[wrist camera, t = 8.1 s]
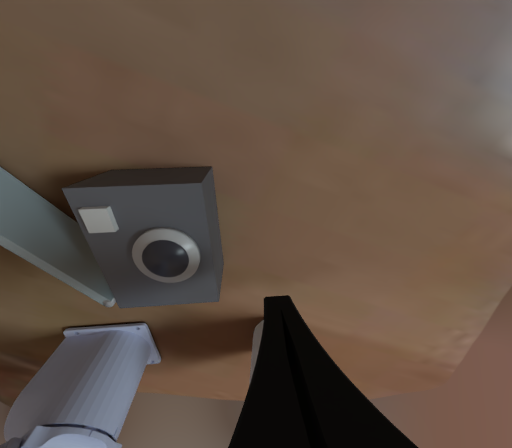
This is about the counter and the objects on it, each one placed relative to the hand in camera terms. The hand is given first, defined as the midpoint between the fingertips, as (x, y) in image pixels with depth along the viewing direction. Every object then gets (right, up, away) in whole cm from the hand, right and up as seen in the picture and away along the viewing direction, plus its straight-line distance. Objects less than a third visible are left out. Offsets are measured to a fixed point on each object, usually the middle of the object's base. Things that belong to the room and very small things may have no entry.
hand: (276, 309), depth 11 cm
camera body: (-9, +5, +7) cm, 12 cm away
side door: (-18, +5, +6) cm, 19 cm away
